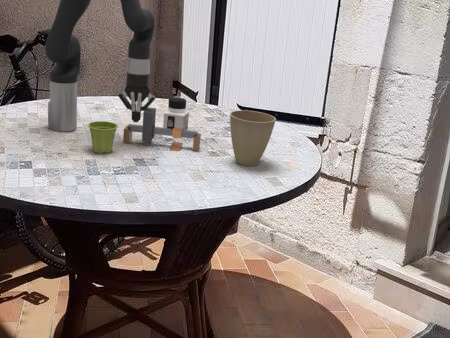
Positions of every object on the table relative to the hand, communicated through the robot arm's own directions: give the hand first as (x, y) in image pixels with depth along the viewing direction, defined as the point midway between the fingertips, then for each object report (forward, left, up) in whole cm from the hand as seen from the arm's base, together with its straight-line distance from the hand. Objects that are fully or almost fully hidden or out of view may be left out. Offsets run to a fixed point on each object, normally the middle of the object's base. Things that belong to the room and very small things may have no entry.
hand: (136, 121), depth 192 cm
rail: (+9, 0, -7) cm, 12 cm away
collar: (+5, 0, -6) cm, 7 cm away
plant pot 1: (-8, -13, -8) cm, 17 cm away
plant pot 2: (+39, -8, -8) cm, 41 cm away
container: (+11, +19, -8) cm, 24 cm away
